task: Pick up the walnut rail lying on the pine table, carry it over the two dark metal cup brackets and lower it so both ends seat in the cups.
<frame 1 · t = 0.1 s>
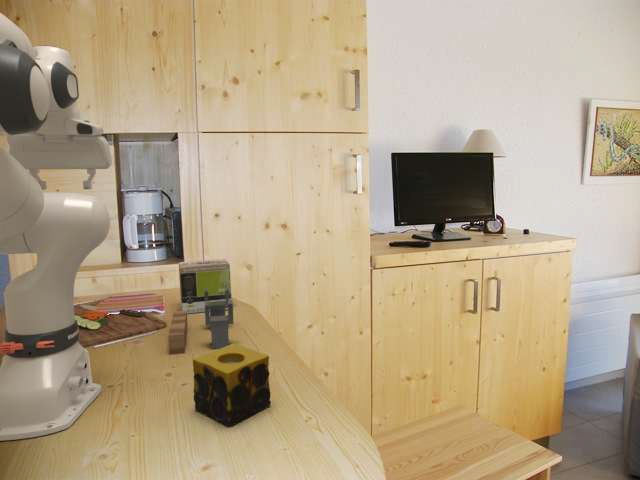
hand: (65, 189, 110), 39 cm above the table, tool pointing down, fingers open, 8 cm apart
rail: (179, 340, 124), on the table
yellow and black cube: (233, 409, 88), on the table
bracket far: (218, 328, 133), on the table
tea box: (205, 308, 153), on the table
chopping board: (94, 323, 140), on the table
bracket near: (220, 345, 120), on the table
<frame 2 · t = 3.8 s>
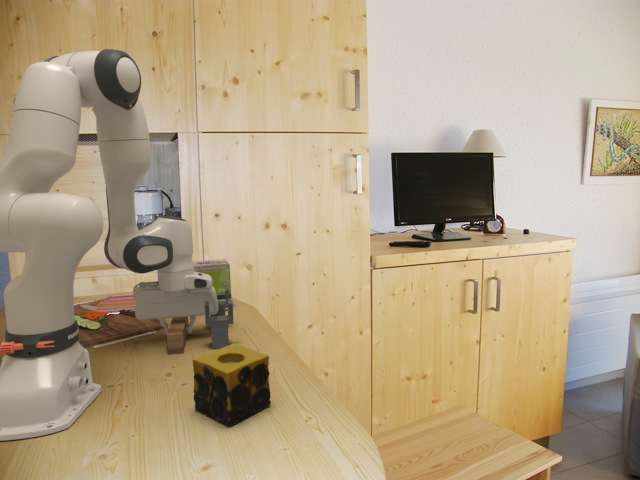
hand: (178, 333, 124), 2 cm above the table, tool pointing down, fingers closed on rail, 4 cm apart
rail: (179, 340, 124), on the table, touching gripper
everything else where it was.
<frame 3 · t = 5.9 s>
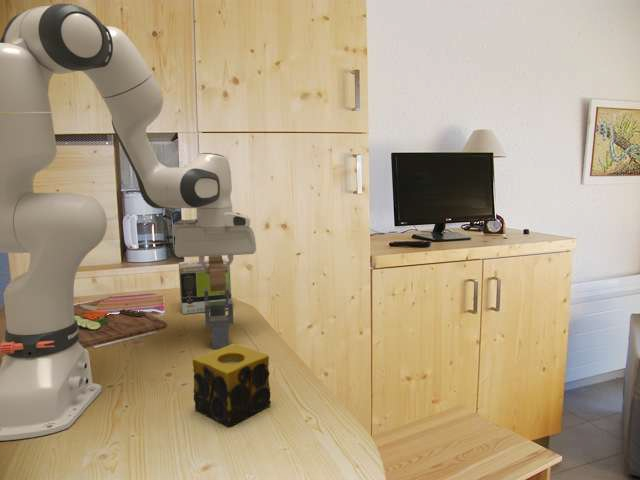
hand: (216, 272, 124), 17 cm above the table, tool pointing down, fingers closed on rail, 3 cm apart
rail: (216, 281, 125), point 15 cm above the table, touching gripper
everything else where it was.
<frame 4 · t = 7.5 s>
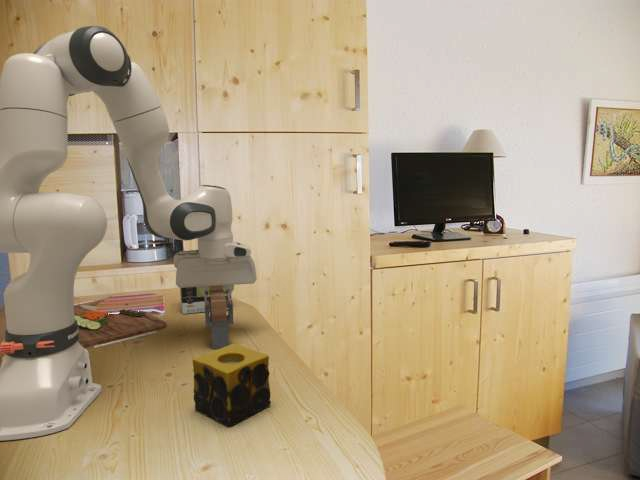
hand: (217, 302, 125), 9 cm above the table, tool pointing down, fingers closed on rail, 3 cm apart
rail: (217, 310, 126), point 7 cm above the table, touching bracket far, bracket near, gripper
everything else where it was.
when the fingers open (9 cm above the table, at t = 7.5 s): rail stays where it is, resting on bracket far, bracket near.
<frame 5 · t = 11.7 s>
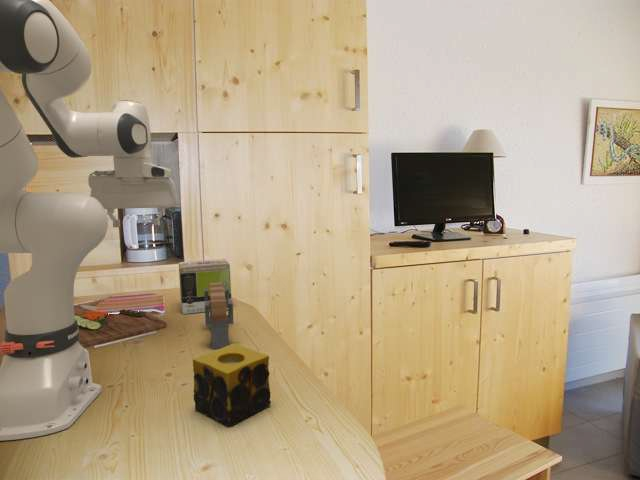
hand: (136, 226, 121), 29 cm above the table, tool pointing down, fingers open, 8 cm apart
rail: (217, 310, 126), point 7 cm above the table, touching bracket far, bracket near
everything else where it was.
at the end: rail 0.4 cm from the target spot, point 7.0 cm above the table; rail tilted 0°; the gripper is holding nothing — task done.
